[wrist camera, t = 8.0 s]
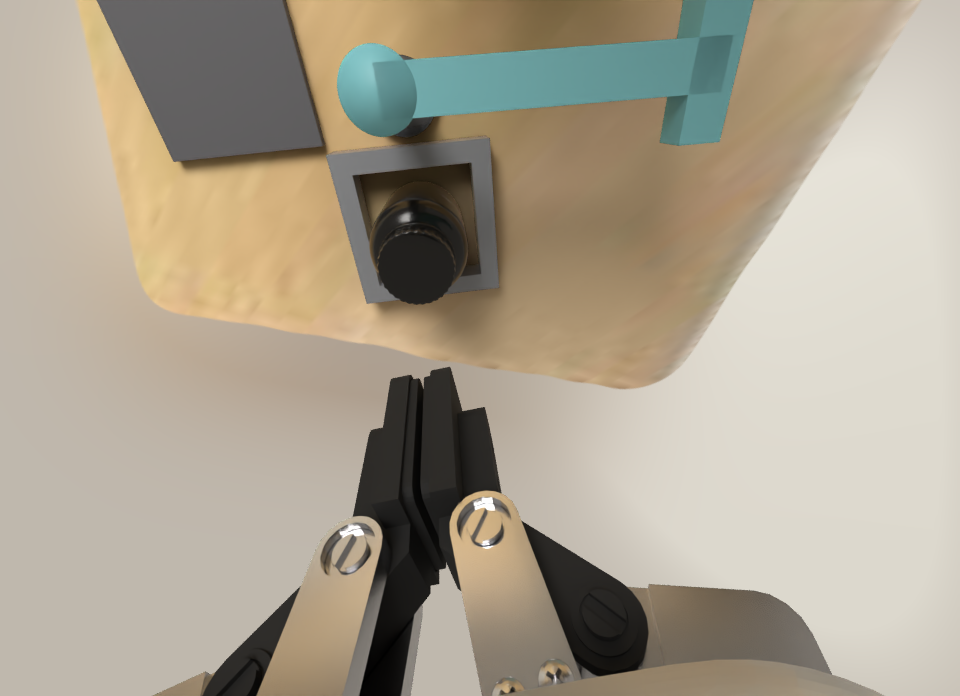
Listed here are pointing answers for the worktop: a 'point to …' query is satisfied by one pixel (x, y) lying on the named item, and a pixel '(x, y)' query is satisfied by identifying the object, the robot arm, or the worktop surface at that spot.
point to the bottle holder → (415, 156)
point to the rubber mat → (217, 74)
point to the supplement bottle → (419, 243)
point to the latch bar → (560, 77)
